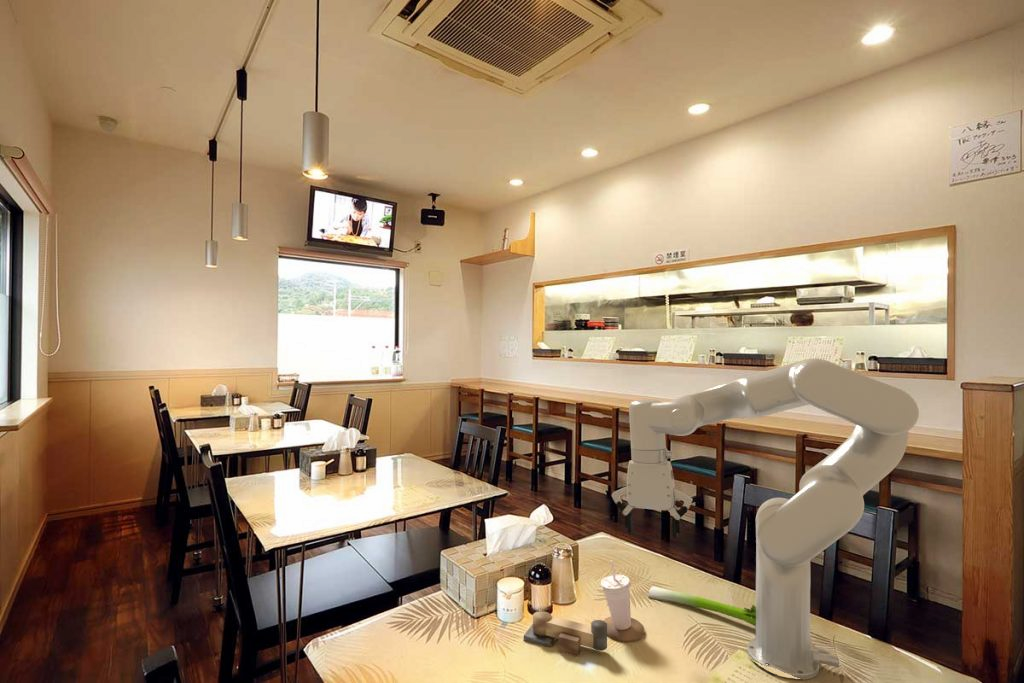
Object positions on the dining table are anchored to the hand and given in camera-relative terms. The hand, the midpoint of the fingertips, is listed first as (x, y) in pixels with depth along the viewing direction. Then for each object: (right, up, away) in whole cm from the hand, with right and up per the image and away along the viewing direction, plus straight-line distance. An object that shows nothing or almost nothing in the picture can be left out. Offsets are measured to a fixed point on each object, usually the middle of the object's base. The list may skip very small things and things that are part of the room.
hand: (652, 534), depth 113 cm
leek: (+15, -22, +6) cm, 27 cm away
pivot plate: (-25, -21, -3) cm, 32 cm away
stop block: (-19, -21, -9) cm, 30 cm away
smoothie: (-7, -20, -1) cm, 21 cm away
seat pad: (-7, -21, -1) cm, 22 cm away
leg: (-19, -19, -6) cm, 28 cm away
